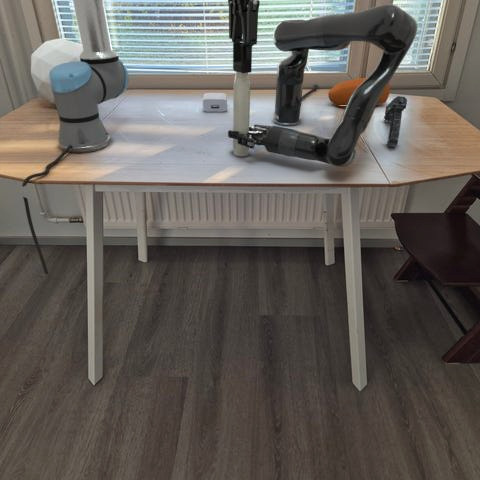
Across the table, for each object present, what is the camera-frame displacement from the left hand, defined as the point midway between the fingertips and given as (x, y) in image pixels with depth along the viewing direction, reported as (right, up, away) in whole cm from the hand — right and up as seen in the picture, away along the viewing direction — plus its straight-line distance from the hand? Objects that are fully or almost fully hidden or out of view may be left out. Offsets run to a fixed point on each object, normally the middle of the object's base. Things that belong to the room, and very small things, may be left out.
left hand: (242, 70), depth 111 cm
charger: (-11, +8, +53) cm, 55 cm away
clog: (+48, +9, +57) cm, 75 cm away
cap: (0, +1, -1) cm, 2 cm away
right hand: (-3, -14, +11) cm, 18 cm away
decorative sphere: (-68, +8, +53) cm, 87 cm away
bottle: (0, -20, +14) cm, 24 cm away
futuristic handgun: (+51, -10, +29) cm, 60 cm away
